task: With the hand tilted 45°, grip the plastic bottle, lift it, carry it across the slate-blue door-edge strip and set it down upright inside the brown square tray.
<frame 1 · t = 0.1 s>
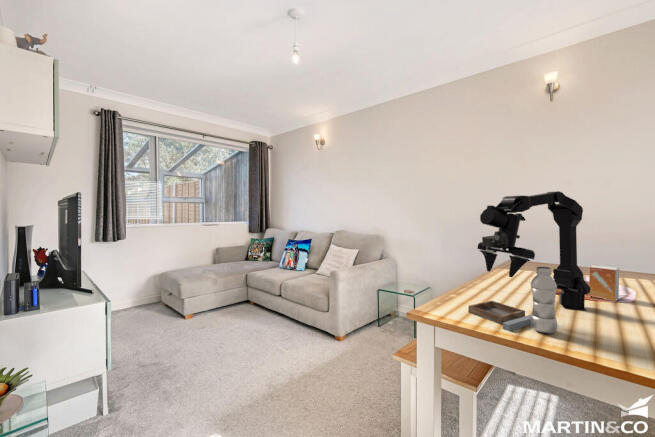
hand: (499, 274, 100), 15 cm above the table, tool pointing down, fingers open, 9 cm apart
small box: (603, 298, 119), on the table
brown square tray: (495, 315, 103), on the table
plastic bottle: (543, 332, 89), on the table
door edge strip: (523, 324, 94), on the table
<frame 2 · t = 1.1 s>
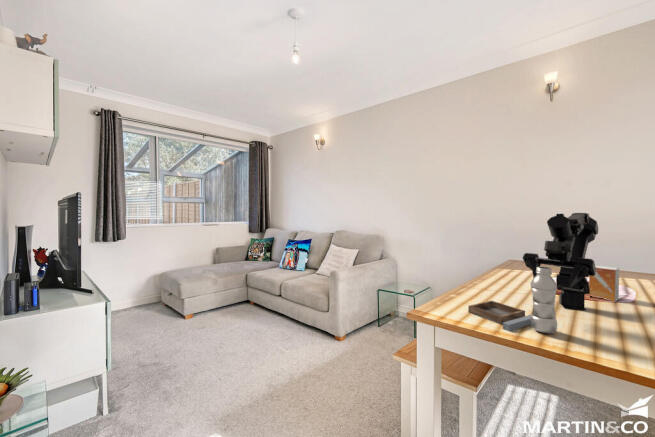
hand: (551, 284, 93), 13 cm above the table, tool tilted 45°, fingers open, 9 cm apart
nothing on the table moved.
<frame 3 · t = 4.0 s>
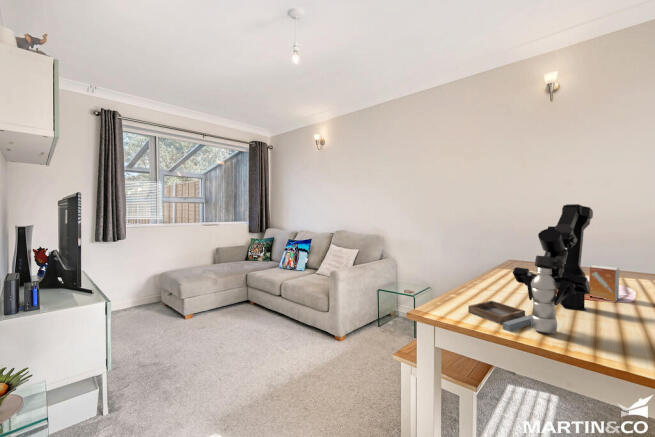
hand: (542, 302, 87), 10 cm above the table, tool tilted 45°, fingers closed on plastic bottle, 6 cm apart
plastic bottle: (543, 332, 89), on the table, touching gripper
everything else where it was.
when the fingers open (11 cm above the table, at t = 7.9 s): plastic bottle stays where it is, resting on brown square tray.
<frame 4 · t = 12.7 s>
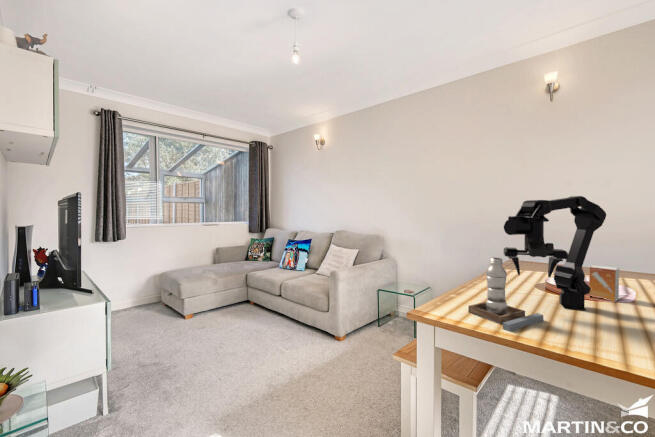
hand: (533, 276, 106), 13 cm above the table, tool pointing down, fingers open, 9 cm apart
plastic bottle: (496, 314, 103), resting on brown square tray
everything else where it was.
at the end: plastic bottle 0.3 cm off-centre on the brown square tray, point 0.3 cm above the brown square tray's base; plastic bottle tilted 0°; the gripper is holding nothing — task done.
